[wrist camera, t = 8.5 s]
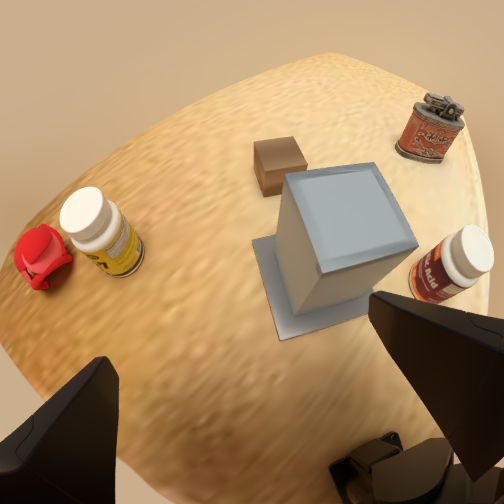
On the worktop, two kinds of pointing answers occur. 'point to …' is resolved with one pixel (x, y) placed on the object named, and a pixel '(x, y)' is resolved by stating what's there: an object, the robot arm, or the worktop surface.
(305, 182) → the cover
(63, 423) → the robot arm
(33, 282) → the red plastic curved piece
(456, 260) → the pill bottle
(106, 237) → the supplement bottle
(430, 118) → the lighter
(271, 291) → the coaster
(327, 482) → the worktop surface
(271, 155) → the block
